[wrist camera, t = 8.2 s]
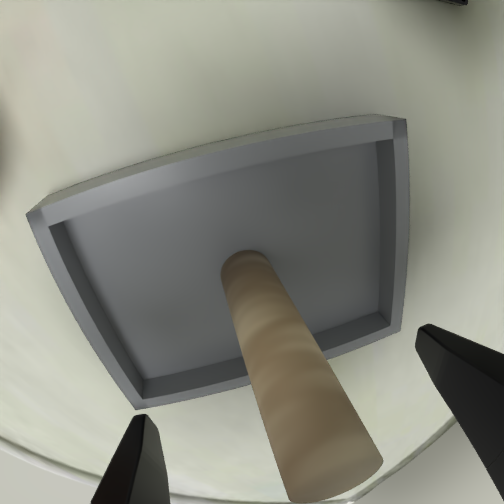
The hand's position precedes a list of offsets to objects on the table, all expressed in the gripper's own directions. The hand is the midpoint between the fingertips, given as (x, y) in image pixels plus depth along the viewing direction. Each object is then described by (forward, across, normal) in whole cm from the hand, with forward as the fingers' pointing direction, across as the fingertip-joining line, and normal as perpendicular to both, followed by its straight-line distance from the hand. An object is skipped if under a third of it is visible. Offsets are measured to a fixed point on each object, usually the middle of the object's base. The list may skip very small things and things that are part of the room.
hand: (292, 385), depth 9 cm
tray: (+8, 0, 0) cm, 8 cm away
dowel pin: (+7, 0, 0) cm, 7 cm away
